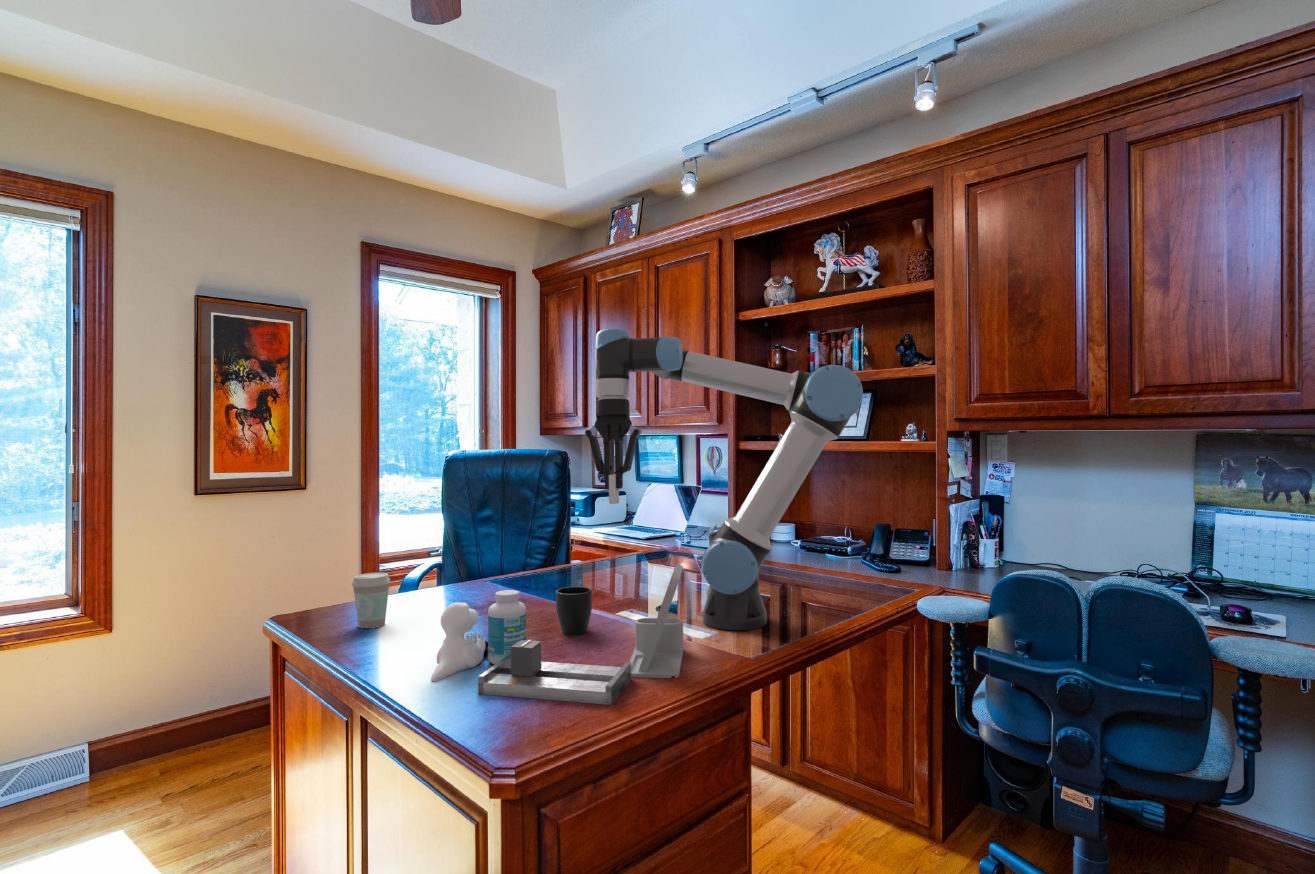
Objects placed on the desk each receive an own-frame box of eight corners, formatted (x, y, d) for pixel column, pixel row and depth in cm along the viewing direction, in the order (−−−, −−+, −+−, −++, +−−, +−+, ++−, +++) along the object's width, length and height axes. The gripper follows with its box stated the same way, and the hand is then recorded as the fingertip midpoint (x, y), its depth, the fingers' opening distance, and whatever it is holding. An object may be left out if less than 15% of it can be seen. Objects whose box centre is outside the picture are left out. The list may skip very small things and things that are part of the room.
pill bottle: (507, 669, 123) (506, 598, 123) (480, 662, 127) (479, 593, 127) (534, 658, 129) (533, 590, 130) (507, 652, 133) (507, 586, 134)
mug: (600, 622, 154) (600, 583, 155) (587, 637, 143) (586, 594, 143) (567, 621, 156) (567, 582, 156) (551, 636, 144) (551, 593, 144)
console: (631, 678, 117) (631, 662, 117) (611, 704, 105) (611, 686, 105) (509, 669, 123) (509, 653, 123) (478, 693, 111) (478, 676, 111)
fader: (541, 673, 117) (541, 640, 117) (532, 681, 113) (531, 646, 113) (521, 672, 118) (520, 638, 118) (511, 679, 114) (510, 645, 114)
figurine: (501, 652, 134) (500, 592, 134) (453, 683, 116) (452, 614, 116) (464, 649, 136) (464, 590, 136) (411, 680, 118) (411, 612, 118)
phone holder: (636, 647, 136) (635, 561, 136) (684, 648, 135) (683, 561, 135) (624, 677, 118) (623, 578, 118) (679, 678, 117) (678, 579, 118)
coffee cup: (347, 625, 155) (346, 575, 155) (383, 618, 161) (383, 570, 161) (358, 632, 149) (358, 580, 149) (396, 625, 155) (395, 575, 155)
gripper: (644, 399, 148) (646, 502, 147) (590, 400, 151) (592, 501, 150) (636, 396, 140) (637, 505, 140) (579, 398, 143) (581, 504, 143)
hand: (614, 503), depth 145 cm, fingers closed
